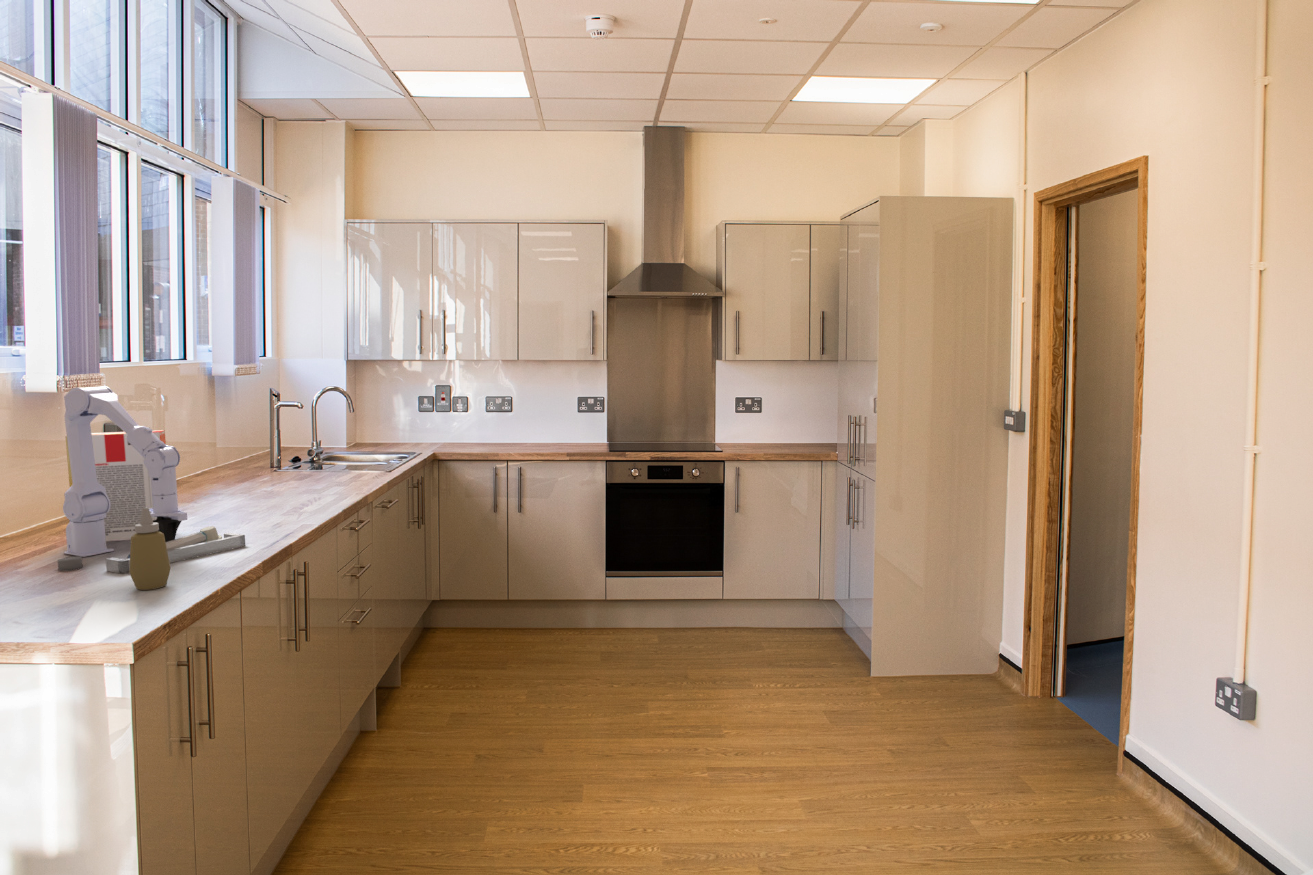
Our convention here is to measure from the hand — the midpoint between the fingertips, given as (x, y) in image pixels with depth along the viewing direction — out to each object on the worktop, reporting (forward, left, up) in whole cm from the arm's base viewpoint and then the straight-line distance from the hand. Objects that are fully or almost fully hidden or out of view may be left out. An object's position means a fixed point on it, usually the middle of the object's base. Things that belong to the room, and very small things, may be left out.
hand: (168, 546), depth 232 cm
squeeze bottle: (+26, -21, -3) cm, 34 cm away
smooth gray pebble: (-10, -19, -3) cm, 22 cm away
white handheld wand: (+3, 0, -3) cm, 5 cm away
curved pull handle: (+5, 0, -3) cm, 5 cm away
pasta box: (-35, +9, -3) cm, 36 cm away
